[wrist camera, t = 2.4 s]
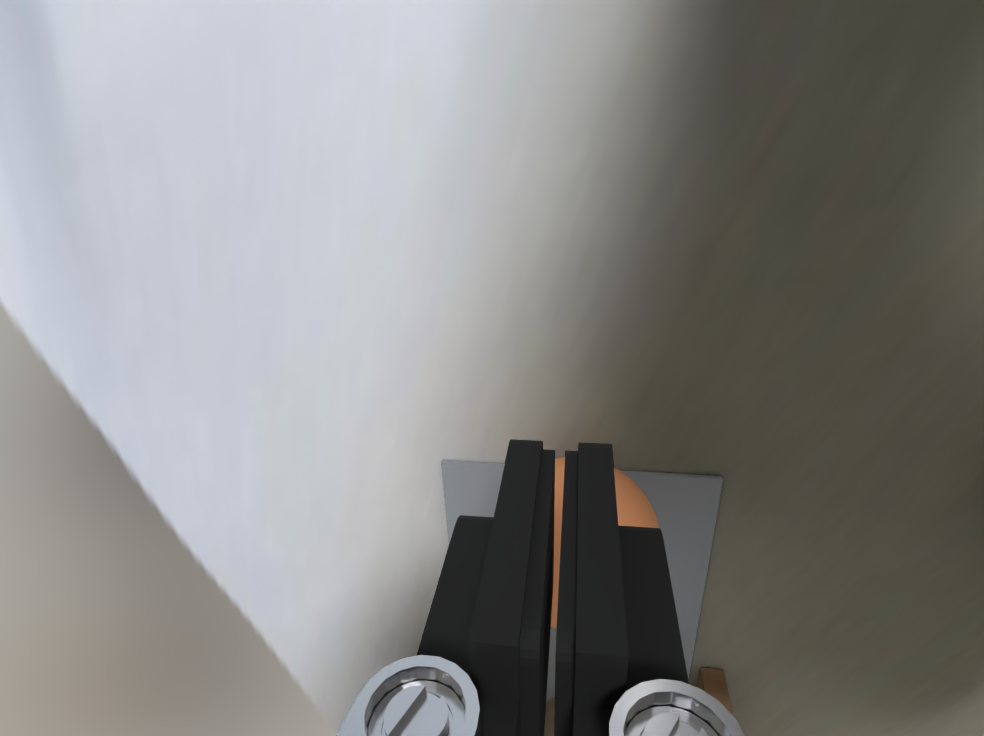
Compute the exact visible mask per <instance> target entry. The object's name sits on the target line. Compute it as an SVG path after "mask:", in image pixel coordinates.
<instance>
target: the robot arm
mask: <svg viewBox="0 0 984 736" xmlns="http://www.w3.org/2000/svg"><path fill="white" fill-rule="evenodd" d="M554 504H555V450H543V441H532V440H510V442H509V446H508V451H507V456H506V460H505V465H504V470H503V475H502V480H501V484H500V489H499V494H498V499H497V504H496V508H495V513H494V517H481V516H465V515H460V516H459V517H458V518H457V521H456V524H455V527H454V530H453V534H452V537H451V540H450V544H449V547H448V551H447V554H446V558H445V561H444V564H443V568H442V571H441V575H440V578H439V581H438V585H437V588H436V592H435V595H434V599H433V602H432V605H431V609H430V612H429V616H428V619H427V622H426V626H425V629H424V633H423V636H422V640H421V643H420V646H419V650H418V653H417V656H412V657H407V658H402V659H400V660H398V661H395V662H393V663H391V664H389V665H387V666H385V667H384V668H382V669H381V670H380V671H379V672H378V673H376V674H375V675H374V676H373V677H371V678H370V679H369V680H368V682H367V683H366V685H365V686H364V687H363V689H362V690H361V692H360V693H359V694H358V696H357V698H356V699H355V701H354V703H353V705H352V707H351V709H350V711H349V713H348V714H347V716H346V718H345V720H344V722H343V724H342V726H341V728H340V729H339V731H338V733H337V735H336V736H544V730H545V713H546V697H547V680H548V664H549V648H550V631H551V615H552V598H553V576H554ZM554 736H745V734H744V732H743V731H742V729H741V727H740V725H739V723H738V722H737V720H736V718H735V717H734V716H733V715H732V714H731V713H730V712H729V711H728V710H727V709H726V708H725V707H724V706H723V704H722V703H721V702H720V701H718V700H717V699H715V698H714V697H712V696H711V695H709V694H708V693H706V692H705V691H703V690H702V689H700V688H697V687H695V686H692V685H689V681H688V675H687V669H686V664H685V658H684V652H683V647H682V641H681V635H680V630H679V624H678V618H677V613H676V607H675V601H674V596H673V590H672V584H671V579H670V573H669V567H668V562H667V556H666V550H665V545H664V539H663V535H662V531H661V529H660V528H649V527H634V526H618V515H617V502H616V489H615V477H614V464H613V451H612V444H597V443H579V446H578V451H565V469H564V489H563V509H562V529H561V549H560V569H559V589H558V609H557V629H556V657H555V713H554Z"/></svg>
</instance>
